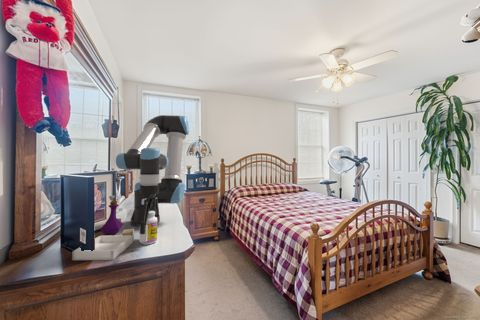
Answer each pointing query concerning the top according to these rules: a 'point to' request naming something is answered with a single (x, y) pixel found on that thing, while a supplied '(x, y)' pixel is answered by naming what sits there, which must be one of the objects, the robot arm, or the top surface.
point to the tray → (105, 248)
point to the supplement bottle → (151, 229)
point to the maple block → (128, 232)
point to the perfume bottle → (112, 220)
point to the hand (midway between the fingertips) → (148, 236)
